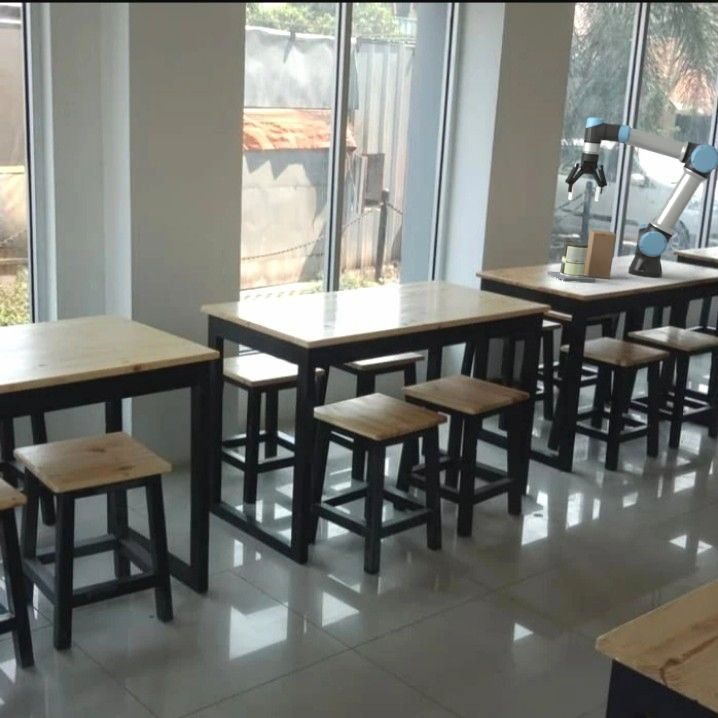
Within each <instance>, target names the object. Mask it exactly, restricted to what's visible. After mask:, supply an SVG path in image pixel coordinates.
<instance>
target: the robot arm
mask: <svg viewBox="0 0 718 718" xmlns="http://www.w3.org/2000/svg"><path fill="white" fill-rule="evenodd" d="M583 138H584V139H583V144H582V145H583V146H582V153H581V157H580V159H581V160H580V161H581V162H580V163H579V162H574V163H573V167H572V169H571V170H570V172H569V174H568V176H567V177H566V179H565V180H564V181H565V184H567V185H568V189H567V192H568V197H567V199H568V201H569V200H570V201H573V199H574V194H575V193H574V192H575V187H576V186H575V185H574V184H576V183H577V181H578V180H579V179H580V178H581V177H582V176H583V175H585V174H586V175H592V176H593V179H594V180H595V182H596V184H597V186H596V188H595V195H594V202H598V203H599V202H600V198H601V195H602V193H603V188H605V187H607V186H608V182H607V179H606V174H605V172H604V165H603V164H598V163H599V156H600V155H599V154H600V153H601V145H602V141H607V142H614V143H615V142H617V143H620V144H624V145H627V146H631V147H635V148H638V149H642V150H646V151H649V152H651V153H652V152H653V153H655V154H659V155H662V156H665V157H669V158H673V159H677V160H678V161H679V162H680V163H682V164H684V165H683V167H682V169H683V173H682V174H681V177H680V178H679V180H678V182H676V185H675V186H674V188H673V190H672V191H671V193H670V195H669V197H667V199H666V201H665V202H664V204H663V206H662V208H661V209H660V212H658V214H657V216H656V218H655V219H654V220H651V221H649V223H648V224H646V223H645V224H643V223H642V224H640V225H639V228H638V234H637V240H636V244H635V245H636V246H635V253H634V257H633V259H632V261H631V262H630V265H629V267H628V273H629V274H631V273H632V274H631V275H635V274H636V275H635V276H640V275H641V276H640V277H646V276H649V277H650V278H659V277H658V276H661V277H662V275H663V269H662V268H663V267H662V263H661V257H662V255H663V253H664V252H665V251H666V249H667V247H668V244H669V242H670V241H671V239H672V237H673V235H674V233H673V229H674V228H675V225H676V224H677V222H679V221H678V220H679V219H680V217H681V216H682V215H683V213H684V211H685V209H686V208H687V206H688V204H689V203H690V201H691V200H692V197H693V196H694V194H695V193H696V191H697V190H698V188H699V186H700V185H701V183H702V182H705V181H708V178H709V177H710V175H711V174H712V172H713V171H714V170H715V169H716V168H717V167H718V149H717V148H716V147H714V146H713V145H711V144H709V143H697V142H696V143H695V142H691V141H685V142H682V141H679V140H676V139H672V138H668V137H665V136H660V135H657V134H654V133H651V132H647V131H644V130H640V129H636V128H633V127H631V126H630V125H625V124H619V123H606V122H605V119H604V118H603V117H602V118H601V117H592V116H591V117H590V116H589V117H588V118H587V119H586V125H585V130H584V137H583ZM579 168H580V169H579Z"/></svg>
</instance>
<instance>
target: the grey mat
mask: <svg viewBox="0 0 718 718" xmlns="http://www.w3.org/2000/svg"><path fill="white" fill-rule="evenodd" d="M547 274H548V275H547ZM547 274H546V275H547V276H549V275H551V276H550V277H552V276H553V277H552V278H554V277H556V278H555V279H557V278H558V279H557V280H559V279H561V280H560V281H562V280H563V281H562V282H564V281H579V282H578V283H592V284H593V283H596V278H591V277H588V276H586V275H585V274H584V275H583V277H569V276H564V275H561V274H560V271H547Z"/></svg>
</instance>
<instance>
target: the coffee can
mask: <svg viewBox="0 0 718 718" xmlns="http://www.w3.org/2000/svg"><path fill="white" fill-rule="evenodd" d="M563 242H564V243H563V250H562V257H561V264H560V269H559V270H560V271H559V272H560V274H561V275H564V276H569V277H583V275H585V274H584V268H585V262H586V255H587V248H588V243H585V242H580V241H574V240H573V241H571V240H566V241H565V240H564V241H563Z"/></svg>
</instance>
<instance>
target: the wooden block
mask: <svg viewBox="0 0 718 718" xmlns="http://www.w3.org/2000/svg"><path fill="white" fill-rule="evenodd" d="M616 239H617V234H616V233H614V232H612V231H609V230H608V231H607V230H598V229H589V232H588V238H587V244H588V248H587V255H586V262H585V268H584V275H586V276H588V277H592V278H593V279H601V280H602V279H603V280H609V279H610V278H611V271H612V265H613V258H614V251H615V247H616V246H615V245H616V242H617V241H616Z"/></svg>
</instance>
